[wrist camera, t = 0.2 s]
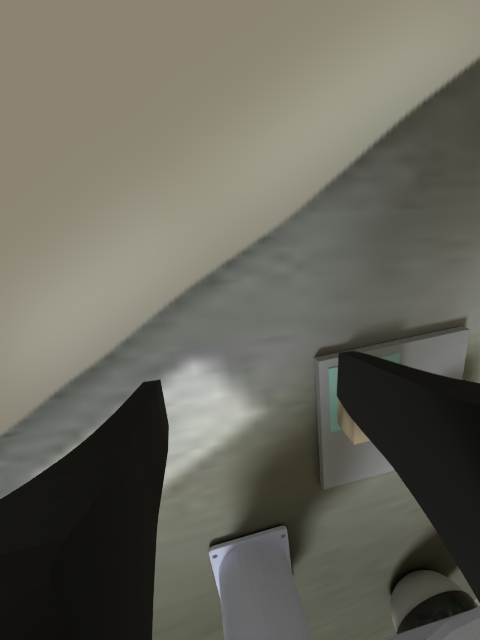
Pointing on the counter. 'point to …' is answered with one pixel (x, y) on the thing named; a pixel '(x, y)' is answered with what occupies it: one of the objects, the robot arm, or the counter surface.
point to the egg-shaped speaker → (426, 600)
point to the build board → (334, 445)
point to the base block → (350, 426)
